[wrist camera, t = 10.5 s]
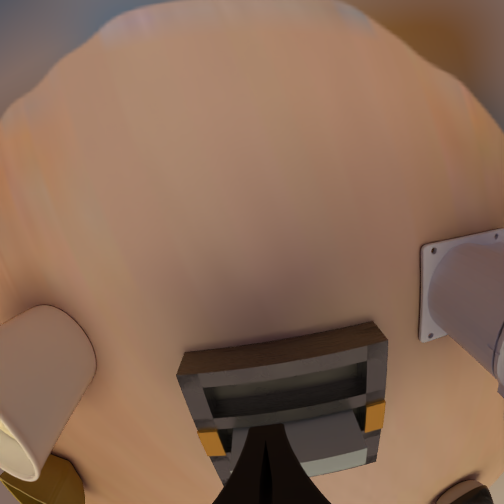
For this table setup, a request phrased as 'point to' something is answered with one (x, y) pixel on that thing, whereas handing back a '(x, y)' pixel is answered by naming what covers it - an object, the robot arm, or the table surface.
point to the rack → (286, 386)
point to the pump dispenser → (467, 494)
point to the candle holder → (39, 385)
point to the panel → (317, 442)
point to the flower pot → (48, 484)
